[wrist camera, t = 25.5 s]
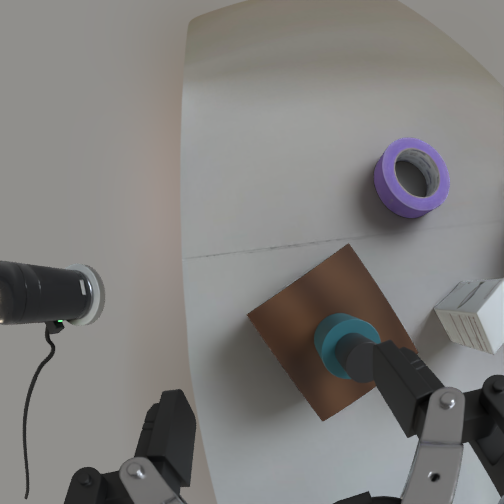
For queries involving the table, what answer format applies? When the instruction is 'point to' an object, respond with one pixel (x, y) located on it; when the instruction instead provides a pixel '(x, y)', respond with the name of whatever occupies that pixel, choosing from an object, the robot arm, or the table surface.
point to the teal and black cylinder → (347, 346)
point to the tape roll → (428, 165)
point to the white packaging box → (475, 314)
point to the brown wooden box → (309, 317)
